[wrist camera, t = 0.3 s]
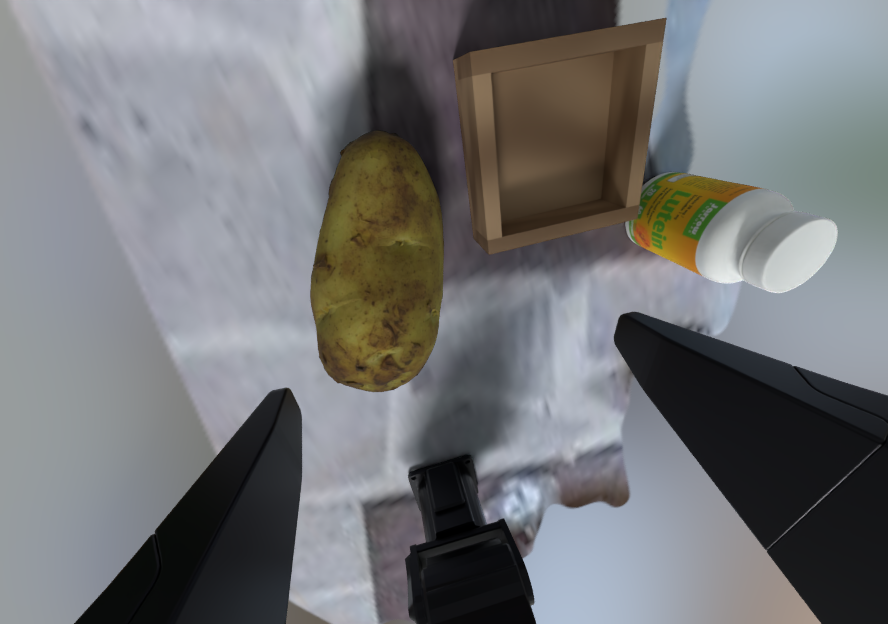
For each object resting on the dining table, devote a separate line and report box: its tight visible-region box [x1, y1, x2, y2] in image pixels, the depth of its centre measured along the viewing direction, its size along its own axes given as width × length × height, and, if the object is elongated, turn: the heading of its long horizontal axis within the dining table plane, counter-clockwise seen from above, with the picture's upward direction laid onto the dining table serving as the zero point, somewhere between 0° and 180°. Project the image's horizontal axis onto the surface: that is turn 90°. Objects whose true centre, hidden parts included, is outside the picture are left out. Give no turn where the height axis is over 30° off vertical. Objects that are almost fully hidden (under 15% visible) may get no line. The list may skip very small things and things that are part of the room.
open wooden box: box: [453, 18, 666, 255], centre depth 20 cm, size 10×10×3 cm
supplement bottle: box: [625, 172, 838, 293], centre depth 21 cm, size 5×5×10 cm
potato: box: [310, 130, 444, 392], centre depth 19 cm, size 8×13×8 cm, turn 152°
